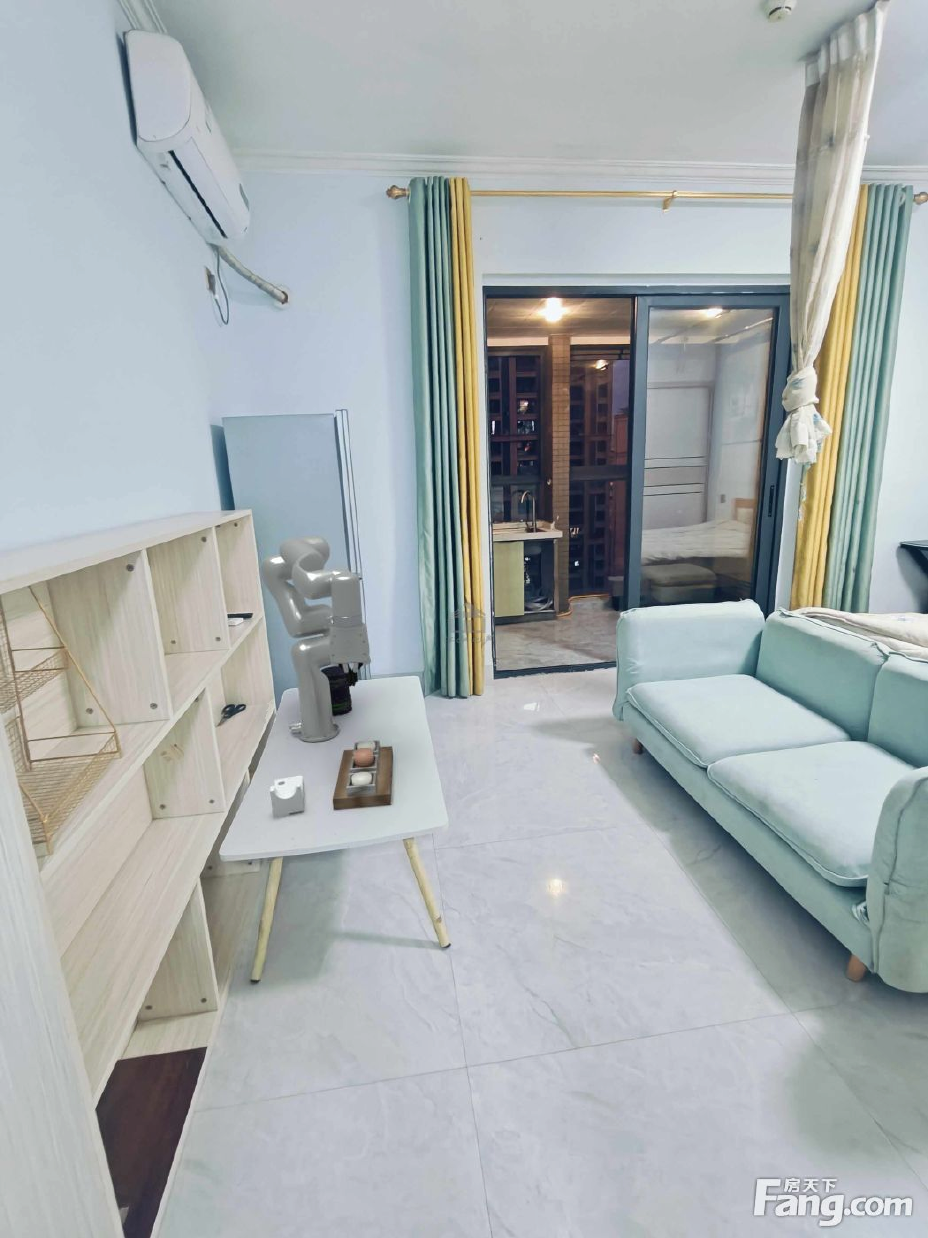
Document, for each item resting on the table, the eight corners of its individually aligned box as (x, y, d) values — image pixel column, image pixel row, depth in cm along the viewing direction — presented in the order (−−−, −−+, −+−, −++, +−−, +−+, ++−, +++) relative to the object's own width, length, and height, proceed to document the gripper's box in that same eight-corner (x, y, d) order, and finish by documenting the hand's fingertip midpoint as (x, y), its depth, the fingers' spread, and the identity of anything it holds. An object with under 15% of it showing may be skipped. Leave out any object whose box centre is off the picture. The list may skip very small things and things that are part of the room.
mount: (333, 810, 142) (331, 790, 141) (344, 759, 167) (342, 742, 166) (390, 804, 144) (389, 785, 142) (393, 755, 169) (391, 738, 167)
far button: (357, 759, 161) (356, 749, 160) (358, 750, 166) (358, 741, 165) (375, 757, 161) (374, 747, 160) (376, 749, 166) (375, 739, 165)
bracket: (304, 813, 142) (300, 786, 140) (274, 819, 140) (270, 791, 138) (304, 787, 154) (300, 761, 152) (276, 792, 152) (272, 766, 150)
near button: (351, 793, 143) (350, 782, 143) (353, 783, 148) (352, 772, 147) (371, 791, 144) (370, 781, 143) (372, 781, 149) (372, 771, 148)
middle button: (354, 767, 152) (353, 757, 151) (355, 758, 156) (354, 748, 156) (373, 766, 152) (372, 755, 151) (374, 757, 157) (373, 747, 156)
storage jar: (322, 708, 206) (317, 668, 202) (349, 703, 209) (345, 664, 205) (326, 718, 196) (321, 677, 193) (354, 713, 200) (351, 672, 196)
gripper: (316, 625, 147) (322, 691, 153) (375, 623, 148) (379, 689, 154) (321, 617, 155) (326, 680, 160) (377, 615, 156) (381, 678, 161)
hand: (352, 684), depth 157 cm, fingers closed
